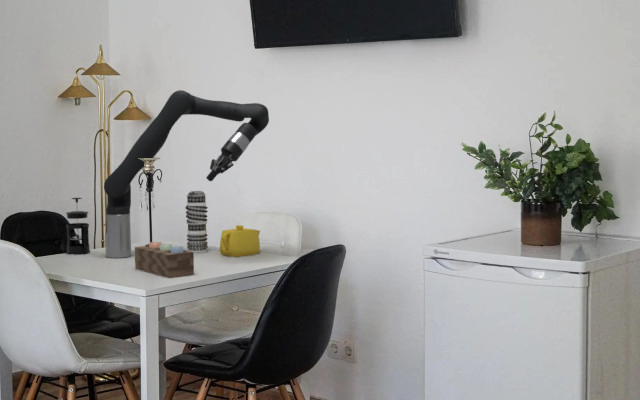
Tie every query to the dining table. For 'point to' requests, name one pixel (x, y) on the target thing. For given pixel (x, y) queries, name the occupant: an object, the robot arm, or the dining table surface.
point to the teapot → (239, 242)
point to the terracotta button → (154, 244)
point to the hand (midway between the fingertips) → (208, 179)
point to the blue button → (176, 249)
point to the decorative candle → (196, 222)
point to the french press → (73, 247)
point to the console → (164, 262)
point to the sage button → (165, 247)
